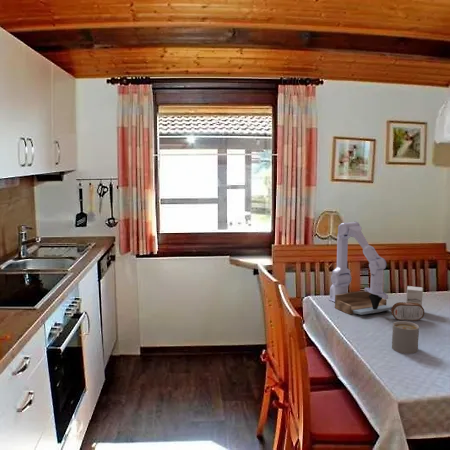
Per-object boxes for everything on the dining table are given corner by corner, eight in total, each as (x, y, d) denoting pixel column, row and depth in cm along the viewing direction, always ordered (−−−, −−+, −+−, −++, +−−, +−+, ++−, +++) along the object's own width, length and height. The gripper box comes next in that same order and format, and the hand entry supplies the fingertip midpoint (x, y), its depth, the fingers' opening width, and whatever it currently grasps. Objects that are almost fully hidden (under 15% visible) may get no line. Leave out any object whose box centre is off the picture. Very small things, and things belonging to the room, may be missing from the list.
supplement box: (405, 314, 247) (406, 289, 246) (406, 309, 254) (407, 285, 252) (421, 315, 245) (422, 290, 243) (421, 311, 252) (422, 287, 250)
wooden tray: (334, 308, 257) (335, 294, 256) (370, 302, 267) (371, 289, 266) (349, 314, 247) (349, 300, 246) (386, 308, 257) (386, 295, 256)
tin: (422, 319, 239) (423, 302, 238) (424, 321, 236) (425, 304, 235) (390, 318, 241) (391, 301, 240) (392, 320, 238) (392, 303, 237)
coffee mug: (420, 354, 198) (422, 329, 196) (395, 353, 199) (396, 329, 197) (411, 341, 211) (412, 318, 210) (387, 340, 212) (388, 318, 211)
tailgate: (352, 310, 247) (361, 312, 242) (384, 305, 255) (392, 306, 250) (353, 313, 247) (361, 315, 242) (384, 308, 255) (392, 310, 250)
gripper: (393, 285, 240) (391, 312, 242) (372, 278, 253) (371, 304, 255) (382, 287, 237) (380, 314, 239) (361, 279, 250) (360, 305, 252)
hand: (375, 309), depth 247 cm, fingers closed, pressing on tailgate
